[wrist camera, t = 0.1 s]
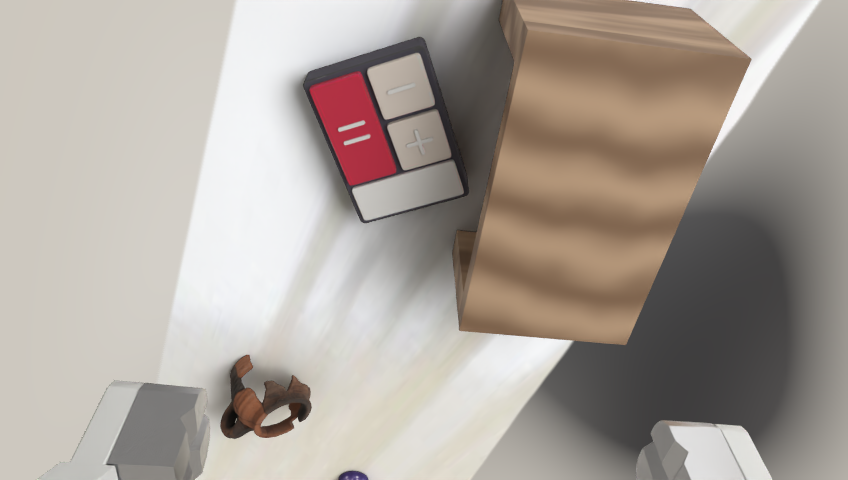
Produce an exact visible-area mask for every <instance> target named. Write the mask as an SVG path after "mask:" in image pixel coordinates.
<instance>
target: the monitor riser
mask: <svg viewBox="0 0 848 480" xmlns="http://www.w3.org/2000/svg"><path fill="white" fill-rule="evenodd" d="M499 22H500V25H501V27H502V30H503V33H504V35H505V38H506V41H507V44H508V46H509V49H510V52H511V54H512V57H513V60H514V66H513V71H512V75H511V80H510V84H509V89H508V93H507V98H506V102H505V107H504V111H503V116H502V120H501V125H500V129H499V134H498V138H497V143H496V147H495V152H494V156H493V161H492V165H491V170H490V174H489V179H488V183H487V188H486V192H485V197H484V201H483V206H482V210H481V215H480V219H479V224H478V229H477V232H469V231H459V230H457V232H456V237H455V242H454V247H453V252H452V255H453V266H454V277H455V288H456V299H457V310H458V321H459V331H468V332H480V333H492V334H504V335H515V336H527V337H539V338H551V339H562V340H575V341H586V342H599V343H609V344H621V345H626V343H627V341H628V338H629V336H630V334H631V332H632V329H633V327H634V325H635V323H636V320H637V318H638V316H639V314H640V311H641V309H642V306H643V304H644V302H645V300H646V297H647V295H648V293H649V291H650V288H651V286H652V284H653V282H654V279H655V277H656V275H657V273H658V270H659V268H660V266H661V263H662V261H663V259H664V257H665V254H666V252H667V250H668V247H669V245H670V243H671V241H672V239H673V236H674V234H675V232H676V229H677V227H678V225H679V223H680V220H681V218H682V216H683V214H684V211H685V209H686V207H687V205H688V202H689V200H690V198H691V195H692V193H693V191H694V189H695V186H696V184H697V182H698V179H699V177H700V175H701V173H702V170H703V168H704V166H705V164H706V161H707V159H708V157H709V155H710V152H711V150H712V148H713V145H714V143H715V141H716V139H717V136H718V134H719V132H720V130H721V127H722V125H723V123H724V120H725V118H726V116H727V114H728V111H729V109H730V107H731V105H732V102H733V100H734V98H735V96H736V93H737V91H738V89H739V86H740V84H741V82H742V80H743V77H744V75H745V73H746V71H747V68H748V66H749V64H750V61H751V58H750V57H748V56H747V55H746V54H745V53H744V52H742V51H741V50H740V49H739V48H737V47H736V46H735V45H734V44H733V43H731V42H730V41H729V40H728V39H726V38H725V37H724V36H723V35H722V34H720V33H719V32H718V31H717V30H716V29H714V28H713V27H712V26H711V25H709V24H708V23H707V22H706V21H705V20H703V19H702V18H701V17H700V16H698V15H697V14H696V13H695V12H694V11H692V10H691V9H687V8H680V7H673V6H666V5H658V4H651V3H644V2H636V1H629V0H503V1H502V6H501V11H500V16H499Z"/></svg>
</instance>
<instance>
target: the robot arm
mask: <svg viewBox="0 0 848 480" xmlns="http://www.w3.org/2000/svg"><path fill="white" fill-rule="evenodd" d="M207 402H208V401H207V394H206V389H203V388H193V387H183V386H173V385H162V384H152V383H139V382H127V381H113V382H112V383H111V384H110V385H109V386H108V388H107V389H106V391H105V393H104V395H103V397H102V399H101V401H100V403H99V405H98V407H97V409H96V411H95V413H94V415H93V417H92V419H91V421H90V423H89V425H88V427H87V429H86V431H85V433H84V435H83V437H82V439H81V441H80V443H79V445H78V447H77V449H76V451H75V453H74V455H73V457H72V459H71V461H70V462H60V463H59V464H57V465H56V466H55V467H53V468H52V469H50V470H49V471H47V472H46V473H45V474H43V475H42V476H41V477H39V478H38V479H37V480H195V479H196V478H197V477H198V476H199V475H200V474H201V473H202V472H203V468H204V465H205V461H206V457H207V452H208V446H209V439H210V422H209V418H208V417H207V416H206V415H205V414H204V412H205V409H206V405H207ZM651 435H652V438H653V441H654V442H652V443H651V444H649V445H647V446H646V447H644V448H643V449H642V451H641V453H640V455H639V458H638V460H637V470H636V478H637V480H772V478H771V476H770V474H769V472H768V470H767V468H766V467H765V465H764V463H763V461H762V459H761V457H760V455H759V453H758V451H757V449H756V448H755V446H754V444H753V442H752V440H751V438H750V436H749V434H748V433H747V431H746V430H745V429H744V428H743V427H741V426H734V425H720V424H711V423H697V422H679V421H660V422H658V423H657V424H655V426H654V428H653V430H652V432H651Z"/></svg>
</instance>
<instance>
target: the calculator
mask: <svg viewBox="0 0 848 480" xmlns="http://www.w3.org/2000/svg"><path fill="white" fill-rule="evenodd" d="M303 86H304V89H305V92H306V94H307V96H308V99H309V101H310V103H311V106H312V108H313V110H314V113H315V115H316V117H317V120H318V122H319V124H320V127H321V129H322V131H323V134H324V136H325V138H326V141H327V143H328V146H329V148H330V150H331V153H332V155H333V157H334V160H335V162H336V164H337V167H338V169H339V171H340V174H341V176H342V178H343V181H344V183H345V185H346V188H347V190H348V192H349V195H350V197H351V199H352V202H353V204H354V206H355V209H356V211H357V213H358V216H359V218H360V220H361V222H363V223H369V222H372V221H376V220H380V219H383V218H387V217H391V216H394V215H398V214H402V213H405V212H409V211H413V210H416V209H420V208H424V207H427V206H431V205H435V204H438V203H442V202H446V201H449V200H453V199H457V198H460V197H464V196H467V195H468V194H469V187H468V179H467V174H466V170H465V167H464V164H463V161H462V158H461V154H460V151H459V148H458V145H457V142H456V140H455V136H454V133H453V130H452V127H451V123H450V120H449V117H448V114H447V110H446V107H445V104H444V101H443V97H442V94H441V91H440V88H439V84H438V81H437V78H436V75H435V71H434V68H433V65H432V62H431V59H430V55H429V52H428V49H427V46H426V43H425V40H424V39H423V38H422V37H417V38H414V39H411V40H408V41H404V42H401V43H398V44H395V45H392V46H389V47H385V48H382V49H379V50H376V51H373V52H370V53H366V54H363V55H360V56H357V57H354V58H351V59H348V60H344V61H341V62H338V63H335V64H332V65H329V66H325V67H322V68H319V69H316V70H313V71H310V72H309V73H308V75H307V77H306V79H305V81H304V84H303Z"/></svg>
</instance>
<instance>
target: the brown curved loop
mask: <svg viewBox="0 0 848 480" xmlns="http://www.w3.org/2000/svg"><path fill="white" fill-rule="evenodd" d="M252 368H253V366H252V363H251V362H250V356H249V355H246V356H244V357H243V358H241V359H240V360H239V361H238V362H237V363H236V364H235V365H234V366H233V368H232V370H231V373H230V378H231V397H232V398H231V399H232V402H231V403H230V405H229V406H228V407H227V409H226V410H225V412H224V414H223V416H222V419H221V424H220V427H221V430H222V432H223V434H224V435H225V436H226V437H228V438H234V439H236V438H239V437H241V436H243V435H244V434H246V433H248V432H249V431H253V430H254V432H255V434H256V435H257V436H259V437H263V438H270V437H276V436H279V435H282V434H284V433H287V432H289V431H291V430H292V429H293V428H294V425H293V423H292V421H293V420H295V419H296V418H297V417H298V420H299V422H302V421H303V420H305V419H306V418H307V417H308V415H309V413H310V411H311V408H312V406H311V403H310V401H309V398H310V393H311V392H310V388H309V387H308V386H307V385H305V384H302V383H300V382H299V381H298V379H297V378H296V377H295V376H294V375H292V380H291V383H290V385H289V387H288V390H287V391H286V389H285V388H284V387H283V386H281V385H279V384H277V383H275V382H274V381H266V382H265V383H264V385H265V388H266V391H265V396H264V400H263V403H261V402H260V401H259V399H258V398H257V396H256V394H255V392H254V391H253V390H252V389H251V388H246V389H245V388H244V386H243V384H242V380H241V378H242V377H243V376H244V375H245V374H246V373H247V372H248V371H250V370H251V369H252ZM289 403H290V404H289ZM286 404H289V409H290V410H291V416H290V417H288V418H287V419H285V420H283V421H282V422H280V423H277V424H274V425H270V426H262V427H261V423H262V421H263V420H264V419H265V418H266V416H267V415H268V414H270V413H271V412H272V411H274V410H275V409H277V408H279V407H281V406H284V405H286ZM236 418H237V421H236ZM235 421H236V423H235Z"/></svg>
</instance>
